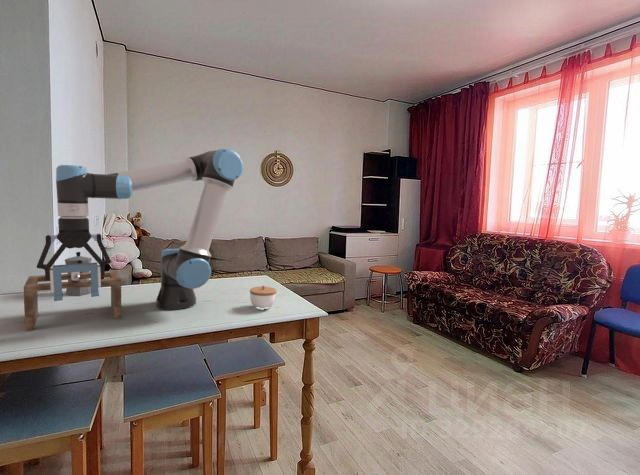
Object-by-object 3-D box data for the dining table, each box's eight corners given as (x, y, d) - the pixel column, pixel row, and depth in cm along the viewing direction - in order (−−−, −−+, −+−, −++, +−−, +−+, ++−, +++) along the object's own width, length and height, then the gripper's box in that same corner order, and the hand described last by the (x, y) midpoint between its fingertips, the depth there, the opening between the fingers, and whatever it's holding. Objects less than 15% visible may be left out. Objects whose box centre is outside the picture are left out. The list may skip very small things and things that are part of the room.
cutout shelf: (117, 305, 134) (116, 270, 133) (121, 318, 121) (121, 279, 120) (30, 315, 119) (29, 276, 118) (25, 330, 106) (23, 286, 105)
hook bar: (79, 273, 126) (79, 266, 125) (80, 282, 113) (79, 275, 113) (71, 273, 124) (71, 267, 124) (71, 283, 112) (71, 275, 112)
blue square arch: (98, 292, 111) (97, 261, 110) (99, 296, 107) (97, 264, 106) (54, 296, 105) (53, 264, 104) (53, 301, 101) (52, 267, 100)
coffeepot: (64, 290, 150) (63, 250, 148) (90, 288, 156) (89, 249, 154) (66, 299, 138) (65, 255, 136) (94, 296, 144) (93, 254, 142)
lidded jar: (280, 308, 142) (281, 286, 141) (260, 313, 134) (260, 290, 133) (264, 302, 149) (265, 281, 148) (244, 307, 141) (244, 284, 140)
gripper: (20, 218, 93) (25, 296, 96) (119, 218, 107) (121, 286, 109) (24, 216, 99) (28, 289, 102) (117, 216, 113) (119, 281, 116)
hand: (76, 288), depth 106 cm, fingers closed on blue square arch, 11 cm apart
